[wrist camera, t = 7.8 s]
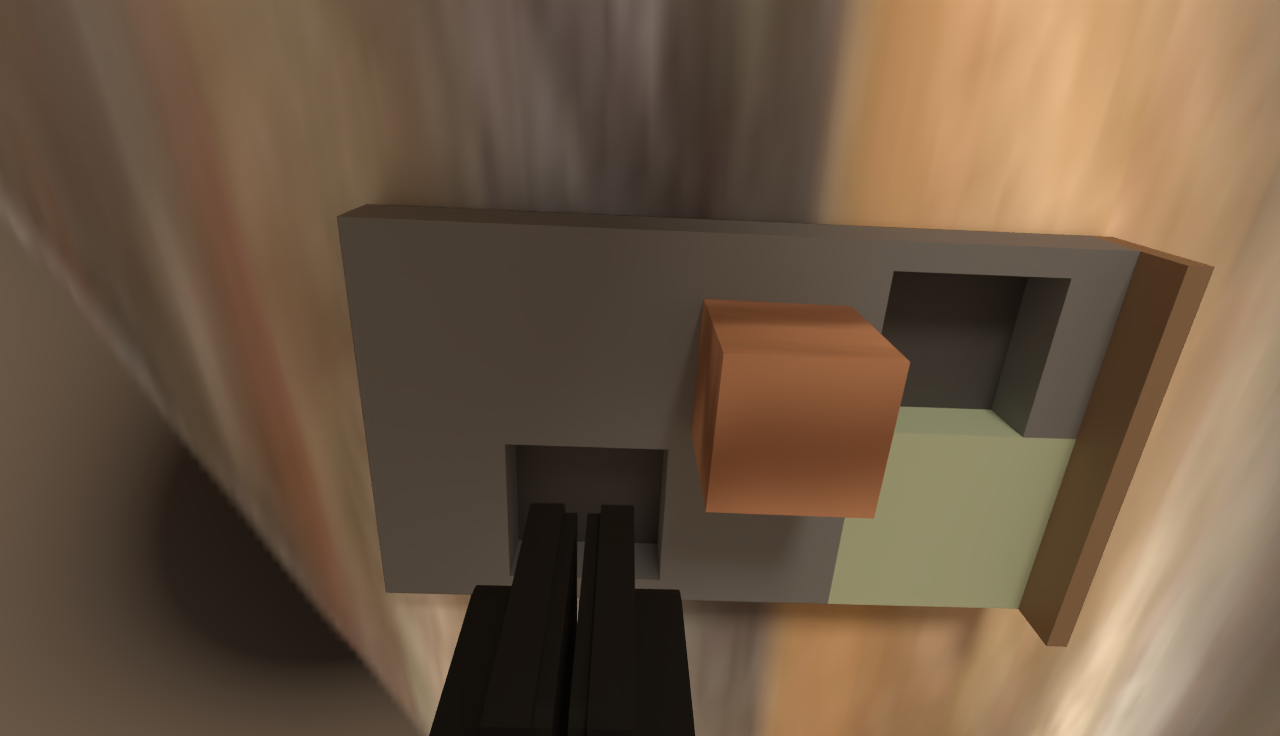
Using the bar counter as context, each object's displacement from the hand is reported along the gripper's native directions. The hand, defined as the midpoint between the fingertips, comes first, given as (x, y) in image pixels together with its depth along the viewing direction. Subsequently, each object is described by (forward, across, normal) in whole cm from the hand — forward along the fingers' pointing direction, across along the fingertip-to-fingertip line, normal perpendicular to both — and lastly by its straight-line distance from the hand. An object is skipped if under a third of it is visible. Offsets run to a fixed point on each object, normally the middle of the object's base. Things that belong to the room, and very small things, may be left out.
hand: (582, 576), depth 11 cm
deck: (+15, -4, +5) cm, 16 cm away
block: (+12, -6, +2) cm, 14 cm away
